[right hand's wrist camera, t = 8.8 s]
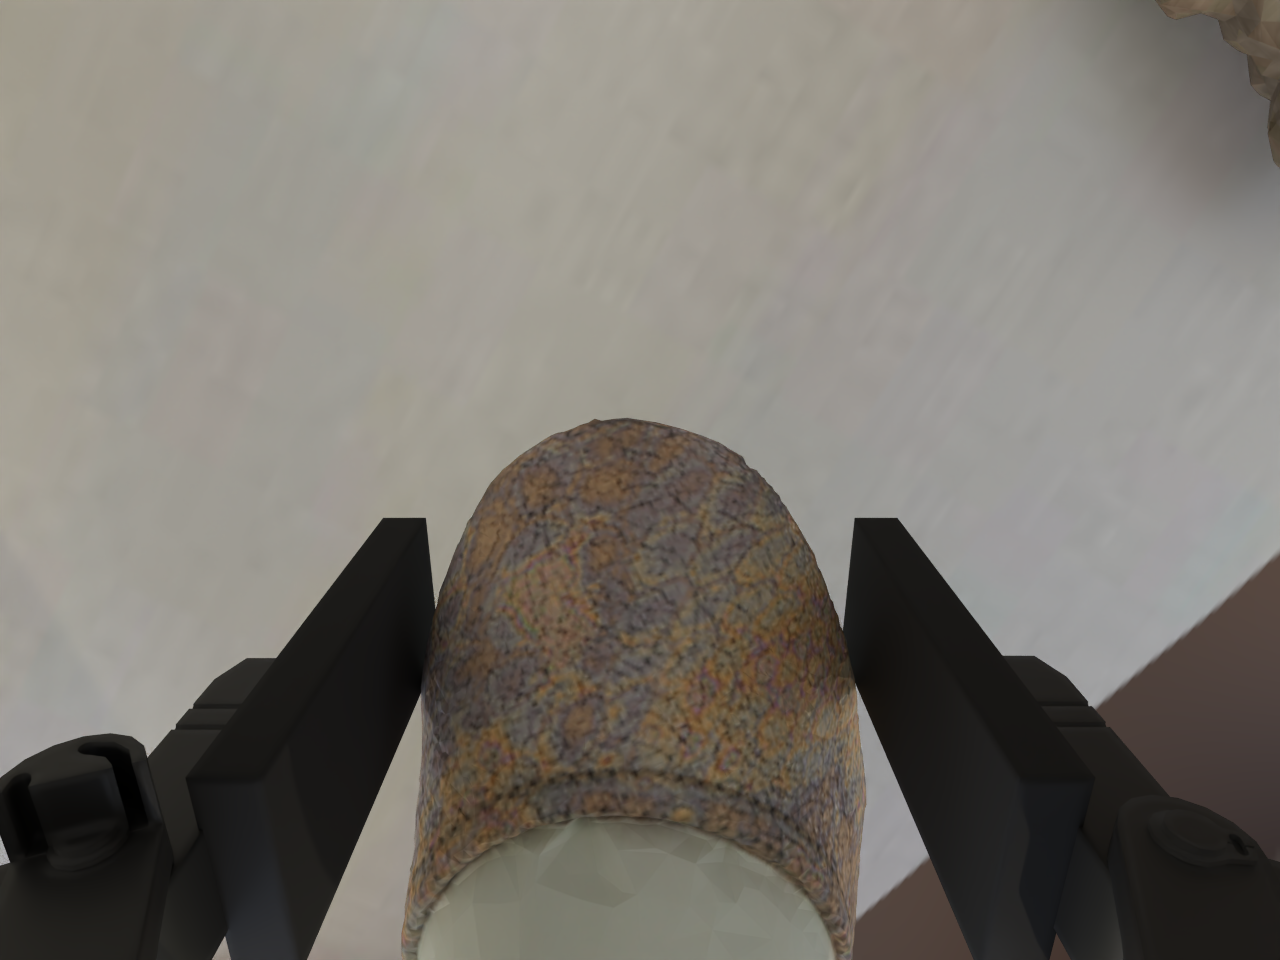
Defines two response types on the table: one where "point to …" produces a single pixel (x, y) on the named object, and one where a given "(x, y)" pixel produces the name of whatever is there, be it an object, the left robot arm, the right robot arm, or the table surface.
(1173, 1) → the stone
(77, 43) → the table surface
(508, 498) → the ballet flat
